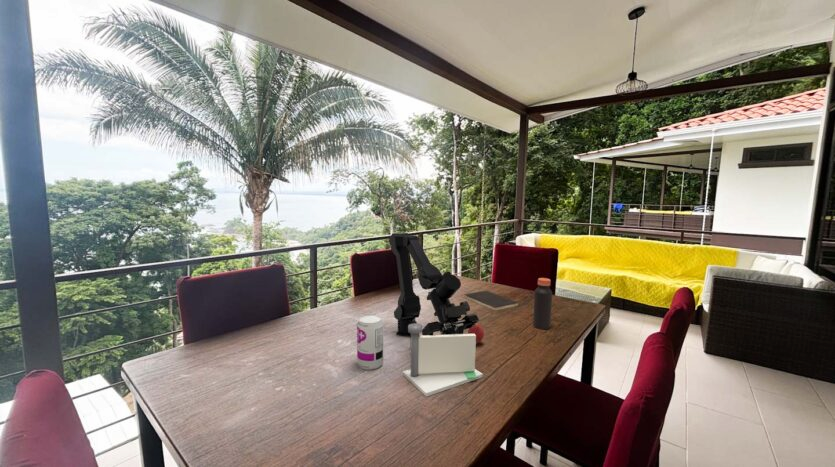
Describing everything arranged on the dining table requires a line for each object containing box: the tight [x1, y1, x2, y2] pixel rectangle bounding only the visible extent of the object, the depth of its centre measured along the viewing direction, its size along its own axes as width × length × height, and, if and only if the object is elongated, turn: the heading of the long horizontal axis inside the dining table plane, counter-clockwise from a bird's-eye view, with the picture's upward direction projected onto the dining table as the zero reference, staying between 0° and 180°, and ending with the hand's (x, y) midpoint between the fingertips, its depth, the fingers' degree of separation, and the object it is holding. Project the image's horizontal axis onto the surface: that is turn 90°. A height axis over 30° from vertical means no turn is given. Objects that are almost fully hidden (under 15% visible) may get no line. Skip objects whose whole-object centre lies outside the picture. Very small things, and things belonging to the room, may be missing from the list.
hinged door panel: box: [408, 322, 477, 377], centre depth 101 cm, size 20×4×15 cm, turn 96°
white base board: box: [402, 368, 484, 397], centre depth 103 cm, size 20×14×1 cm
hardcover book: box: [464, 290, 520, 311], centre depth 174 cm, size 16×23×2 cm
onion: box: [467, 322, 485, 345], centre depth 125 cm, size 6×6×8 cm
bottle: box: [532, 277, 553, 330], centre depth 141 cm, size 7×7×20 cm
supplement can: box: [356, 314, 384, 371], centre depth 108 cm, size 8×8×15 cm
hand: (462, 351), depth 103 cm, fingers closed
